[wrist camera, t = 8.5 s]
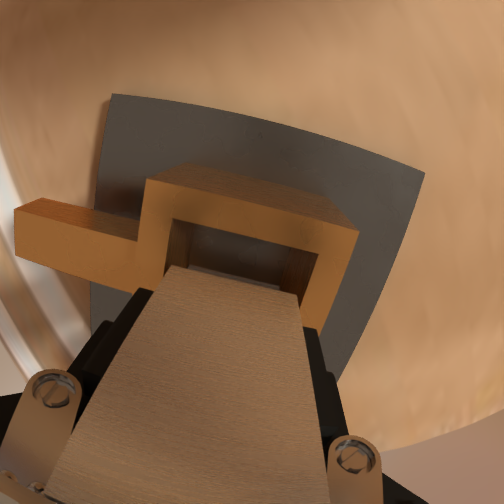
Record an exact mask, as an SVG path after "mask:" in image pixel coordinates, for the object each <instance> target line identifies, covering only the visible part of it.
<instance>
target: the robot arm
mask: <svg viewBox="0 0 504 504" xmlns="http://www.w3.org/2000/svg"><path fill="white" fill-rule="evenodd" d="M153 293H154V291H152V290H148V289H145V288H141V287H139V288H138V289H137V291H136V292H135V293H134V295H133V296H132V297H131V299H130V300H129V302H128V303H127V304H126V306H125V307H124V308H123V310H122V311H121V313H120V314H119V315H118V317H117V318H116V320H115V321H114V322H112V321H109V320H104V321H103V322H102V323H101V324H100V326H99V327H98V328H97V330H96V331H95V332H94V334H93V335H92V337H91V338H90V339H89V341H88V342H87V343H86V345H85V346H84V347H83V349H82V350H81V352H80V353H79V354H78V356H77V357H76V359H75V360H74V361H73V363H72V364H71V366H70V367H69V369H68V370H67V371H63V370H58V369H46V370H43V371H40V372H38V373H36V374H35V375H33V376H32V377H31V378H30V380H29V381H28V383H27V385H26V387H25V389H24V391H23V393H17V394H12V395H6V396H0V504H57V503H55V502H53V501H51V500H49V499H47V498H46V497H45V495H44V494H43V491H44V489H45V487H46V485H47V482H48V480H49V478H50V476H51V474H52V472H53V470H54V468H55V466H56V464H57V462H58V460H59V458H60V456H61V454H62V452H63V450H64V448H65V446H66V444H67V442H68V440H69V438H70V436H71V434H72V432H73V431H74V429H75V427H76V425H77V423H78V421H79V419H80V417H81V416H82V414H83V412H84V410H85V408H86V406H87V405H88V403H89V401H90V399H91V397H92V395H93V394H94V392H95V390H96V388H97V386H98V385H99V383H100V381H101V379H102V378H103V376H104V374H105V372H106V371H107V369H108V367H109V365H110V364H111V362H112V360H113V359H114V357H115V355H116V353H117V352H118V350H119V348H120V347H121V345H122V343H123V342H124V340H125V338H126V337H127V335H128V333H129V332H130V330H131V328H132V327H133V325H134V323H135V322H136V320H137V318H138V317H139V315H140V314H141V312H142V310H143V309H144V307H145V306H146V304H147V302H148V301H149V299H150V298H151V296H152V294H153ZM303 332H304V337H305V343H306V348H307V354H308V360H309V366H310V371H311V377H312V383H313V389H314V395H315V401H316V408H317V414H318V420H319V427H320V433H321V440H322V446H323V453H324V460H325V467H326V474H327V481H328V489H329V496H330V504H428V503H427V502H426V501H424V500H423V499H421V498H420V497H418V496H416V495H415V494H413V493H412V492H410V491H409V490H407V489H406V488H404V487H403V486H401V485H400V484H398V483H397V482H395V481H394V480H392V479H391V478H390V477H388V476H386V475H385V474H384V473H382V468H381V467H382V466H381V458H380V454H379V452H378V450H377V449H376V447H375V446H374V445H373V444H371V443H370V442H369V441H367V440H366V439H364V438H361V437H358V436H354V435H349V433H348V429H347V425H346V420H345V416H344V412H343V408H342V404H341V400H340V395H339V391H338V387H337V383H336V379H335V376H334V374H333V373H332V372H328V371H327V370H326V366H325V362H324V357H323V353H322V349H321V345H320V341H319V336H318V332H317V329H314V328H309V327H304V326H303Z"/></svg>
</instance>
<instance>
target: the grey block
mask: <svg viewBox="0 0 504 504" xmlns="http://www.w3.org/2000/svg"><path fill="white" fill-rule="evenodd" d="M43 494H44V495H45V497H46V498H47V499H49V500H51V501H53V502H55V503H57V504H330V496H329V489H328V481H327V474H326V467H325V460H324V453H323V446H322V440H321V433H320V427H319V420H318V414H317V408H316V401H315V395H314V389H313V383H312V377H311V371H310V366H309V360H308V354H307V348H306V343H305V337H304V332H303V326H302V321H301V316H300V310H299V305H298V300H297V295H295V294H291V293H287V292H282V291H280V289H279V286H277V285H273V284H269V283H264V282H260V281H256V280H252V279H247V278H243V277H239V276H235V275H231V274H226V273H222V272H218V271H214V270H210V269H206V268H202V267H198V266H194V265H189V267H188V268H187V269H186V268H182V267H178V266H174V265H171V266H170V268H169V269H168V271H167V272H166V274H165V276H164V277H163V279H162V280H161V282H160V283H159V285H158V287H157V288H156V290H155V291H154V293H153V294H152V296H151V298H150V299H149V301H148V302H147V304H146V306H145V307H144V309H143V310H142V312H141V314H140V315H139V317H138V318H137V320H136V322H135V323H134V325H133V327H132V328H131V330H130V332H129V333H128V335H127V337H126V338H125V340H124V342H123V343H122V345H121V347H120V348H119V350H118V352H117V353H116V355H115V357H114V359H113V360H112V362H111V364H110V365H109V367H108V369H107V371H106V372H105V374H104V376H103V378H102V379H101V381H100V383H99V385H98V386H97V388H96V390H95V392H94V394H93V395H92V397H91V399H90V401H89V403H88V405H87V406H86V408H85V410H84V412H83V414H82V416H81V417H80V419H79V421H78V423H77V425H76V427H75V429H74V431H73V432H72V434H71V436H70V438H69V440H68V442H67V444H66V446H65V448H64V450H63V452H62V454H61V456H60V458H59V460H58V462H57V464H56V466H55V468H54V470H53V472H52V474H51V476H50V478H49V480H48V482H47V485H46V487H45V489H44V491H43Z"/></svg>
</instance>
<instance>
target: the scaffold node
mask: <svg viewBox="0 0 504 504" xmlns="http://www.w3.org/2000/svg"><path fill="white" fill-rule="evenodd" d="M424 175H425V173H424V172H422V171H420V170H417V169H415V168H412V167H410V166H407V165H405V164H402V163H400V162H397V161H395V160H392V159H389V158H387V157H384V156H381V155H379V154H376V153H373V152H370V151H367V150H365V149H362V148H359V147H356V146H353V145H350V144H347V143H344V142H341V141H338V140H335V139H331V138H328V137H325V136H322V135H318V134H315V133H312V132H308V131H305V130H301V129H298V128H294V127H291V126H287V125H283V124H279V123H275V122H272V121H268V120H264V119H259V118H255V117H251V116H247V115H242V114H238V113H233V112H229V111H224V110H219V109H214V108H209V107H204V106H198V105H193V104H187V103H181V102H175V101H168V100H162V99H155V98H147V97H139V96H131V95H122V94H112V96H111V101H110V106H109V111H108V115H107V121H106V126H105V131H104V137H103V143H102V149H101V156H100V162H99V170H98V177H97V186H96V195H95V205H94V210H92V209H88V208H83V207H79V206H75V205H71V204H67V203H63V202H58V201H54V200H50V199H46V198H40V199H37V200H35V201H32V202H30V203H27V204H25V205H23V206H20V207H18V208H16V209H14V237H15V255H16V256H19V257H21V258H24V259H27V260H30V261H33V262H35V263H38V264H41V265H44V266H47V267H50V268H53V269H56V270H59V271H62V272H65V273H68V274H71V275H74V276H77V277H80V278H83V279H86V280H89V281H90V308H91V337H92V335H93V334H94V332H95V331H96V330H97V328H98V327H99V326H100V324H101V323H102V322H103V321H104V320H109V321H112V322H114V321H115V320H116V318H117V317H118V315H119V314H120V313H121V311H122V310H123V308H124V307H125V306H126V304H127V303H128V302H129V300H130V299H131V297H132V296H133V295H134V293H135V292H136V291H137V289H138V288H139V287H141V288H145V289H148V290H152V291H155V290H156V288H157V287H158V285H159V283H160V282H161V280H162V279H163V277H164V276H165V274H166V272H167V271H168V269H169V268H170V266H171V265H174V266H178V267H182V268H186V269H187V268H188V267H189V265H194V266H198V267H202V268H206V269H210V270H214V271H218V272H222V273H226V274H231V275H235V276H239V277H243V278H247V279H252V280H256V281H260V282H264V283H269V284H273V285H277V286H279V289H280V291H282V292H287V293H291V294H295V295H297V300H298V305H299V310H300V316H301V321H302V326H304V327H309V328H314V329H317V332H318V336H319V341H320V345H321V349H322V353H323V357H324V362H325V366H326V370H327V371H328V372H332V373H333V374H334V376H335V379H336V383H337V381H338V380H339V378H340V376H341V374H342V372H343V370H344V368H345V367H346V365H347V363H348V361H349V359H350V357H351V355H352V353H353V351H354V349H355V347H356V345H357V343H358V341H359V339H360V337H361V335H362V333H363V331H364V329H365V327H366V325H367V323H368V321H369V319H370V316H371V314H372V312H373V310H374V308H375V305H376V303H377V301H378V299H379V297H380V294H381V292H382V290H383V287H384V285H385V283H386V280H387V278H388V276H389V273H390V271H391V268H392V266H393V263H394V261H395V258H396V256H397V253H398V251H399V248H400V245H401V243H402V240H403V238H404V235H405V232H406V229H407V227H408V224H409V221H410V218H411V215H412V212H413V209H414V207H415V204H416V201H417V197H418V194H419V191H420V188H421V185H422V182H423V178H424Z"/></svg>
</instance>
